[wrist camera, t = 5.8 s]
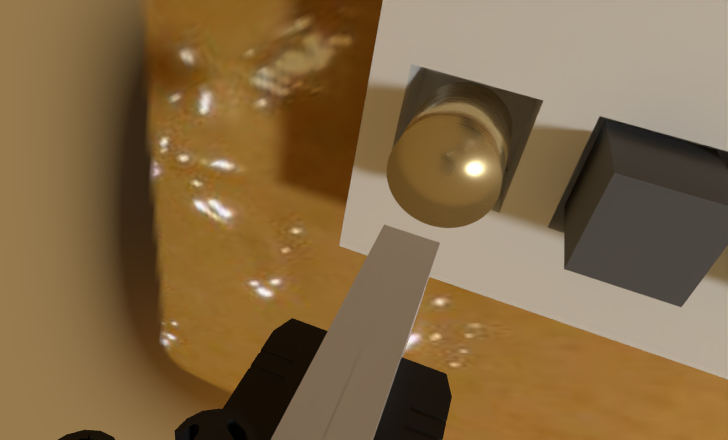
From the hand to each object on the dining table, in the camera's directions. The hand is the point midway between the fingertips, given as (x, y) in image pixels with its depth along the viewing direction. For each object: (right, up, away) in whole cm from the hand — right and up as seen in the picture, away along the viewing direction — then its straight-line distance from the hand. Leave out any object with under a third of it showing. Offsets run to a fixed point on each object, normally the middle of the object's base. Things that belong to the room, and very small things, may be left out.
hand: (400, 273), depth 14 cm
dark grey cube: (+10, +3, +7) cm, 12 cm away
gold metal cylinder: (+3, +5, +8) cm, 10 cm away
